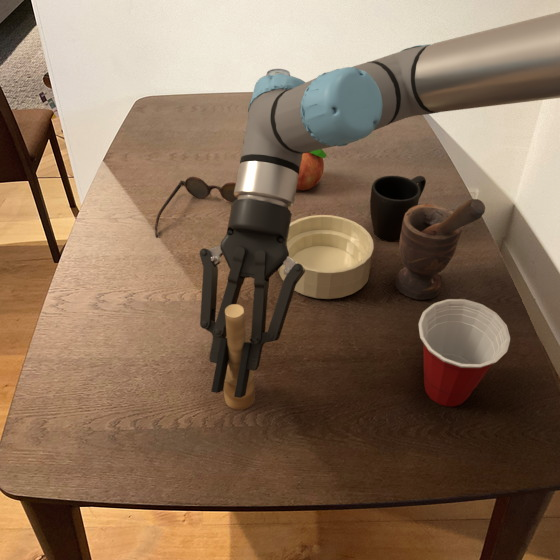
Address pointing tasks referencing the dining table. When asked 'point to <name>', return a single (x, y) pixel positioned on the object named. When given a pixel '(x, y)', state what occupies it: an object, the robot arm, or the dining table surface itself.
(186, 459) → the dining table surface
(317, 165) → the fruit
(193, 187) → the eyeglasses
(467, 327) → the plastic cup
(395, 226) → the mug
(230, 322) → the muddler
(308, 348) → the dining table surface
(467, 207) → the mortar and pestle
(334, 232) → the bowl
